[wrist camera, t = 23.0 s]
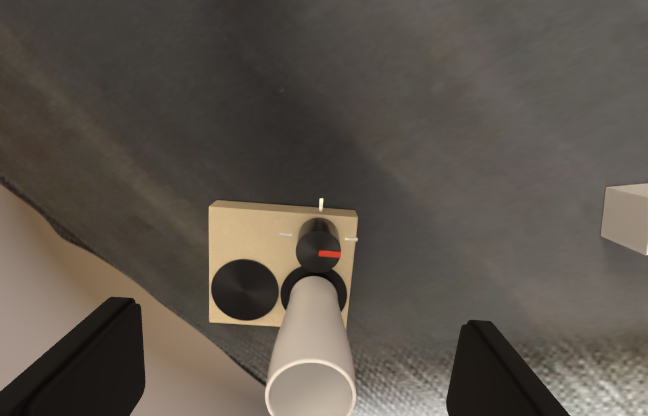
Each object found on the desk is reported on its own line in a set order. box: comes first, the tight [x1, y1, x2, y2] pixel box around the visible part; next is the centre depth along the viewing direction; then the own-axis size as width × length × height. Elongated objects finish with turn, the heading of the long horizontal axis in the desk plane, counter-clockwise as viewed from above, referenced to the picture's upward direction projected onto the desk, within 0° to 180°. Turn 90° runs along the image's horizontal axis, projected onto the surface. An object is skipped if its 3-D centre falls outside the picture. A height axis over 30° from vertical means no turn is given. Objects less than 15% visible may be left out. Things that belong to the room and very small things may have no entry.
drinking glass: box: [265, 276, 356, 416], centre depth 32 cm, size 7×7×15 cm
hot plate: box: [209, 198, 358, 330], centre depth 40 cm, size 16×16×3 cm
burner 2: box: [280, 266, 347, 312], centre depth 40 cm, size 8×8×1 cm
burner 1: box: [211, 259, 279, 321], centre depth 39 cm, size 8×8×1 cm
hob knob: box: [296, 218, 341, 273], centre depth 36 cm, size 4×4×5 cm
